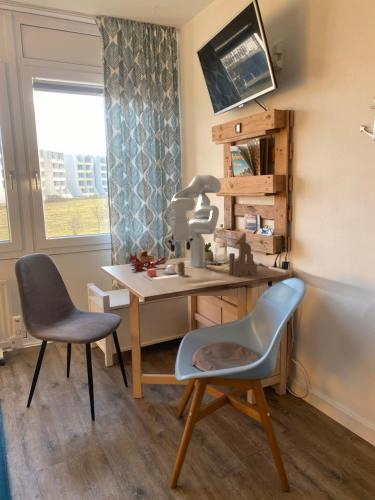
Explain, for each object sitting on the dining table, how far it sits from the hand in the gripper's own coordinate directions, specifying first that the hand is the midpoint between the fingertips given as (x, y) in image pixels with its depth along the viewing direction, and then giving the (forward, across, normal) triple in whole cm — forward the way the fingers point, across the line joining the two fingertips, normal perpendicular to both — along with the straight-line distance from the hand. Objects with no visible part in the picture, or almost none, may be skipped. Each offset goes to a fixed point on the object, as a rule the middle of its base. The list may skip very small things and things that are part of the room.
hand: (180, 250), depth 217 cm
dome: (+14, +4, -7) cm, 16 cm away
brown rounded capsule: (+14, 0, 0) cm, 14 cm away
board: (+16, +8, -4) cm, 18 cm away
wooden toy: (+16, -34, +13) cm, 40 cm away
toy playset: (+16, +8, -33) cm, 38 cm away
